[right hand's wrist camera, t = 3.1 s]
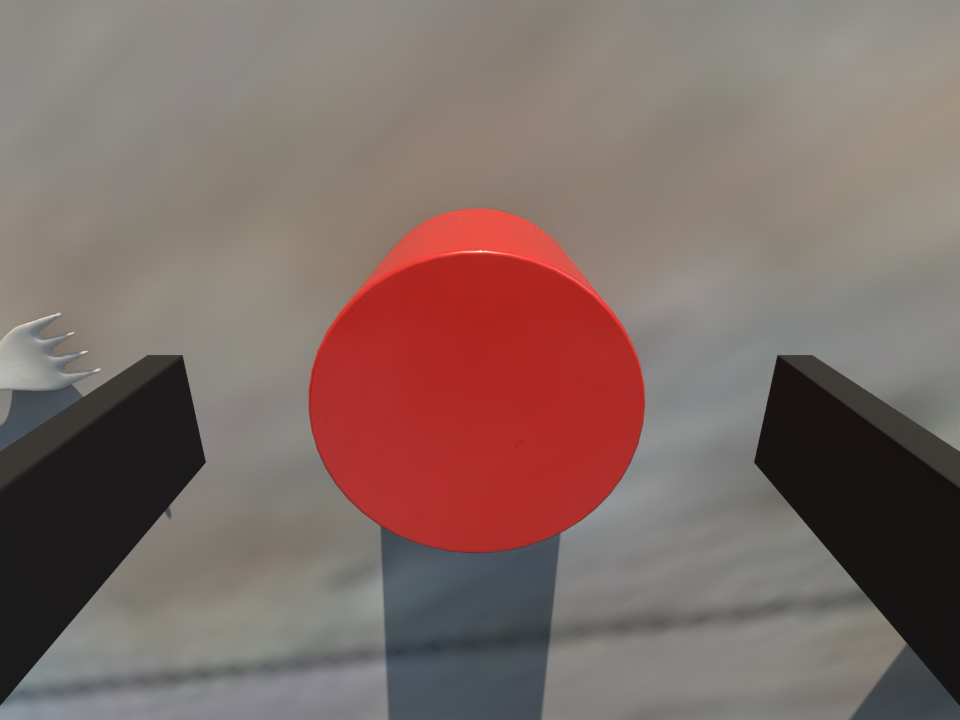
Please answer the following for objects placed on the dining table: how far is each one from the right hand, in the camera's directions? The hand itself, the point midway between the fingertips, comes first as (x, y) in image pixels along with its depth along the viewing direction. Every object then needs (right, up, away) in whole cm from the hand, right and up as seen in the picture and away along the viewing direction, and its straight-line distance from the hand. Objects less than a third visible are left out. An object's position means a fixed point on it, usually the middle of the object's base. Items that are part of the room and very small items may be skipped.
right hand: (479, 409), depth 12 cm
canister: (0, +3, +8) cm, 8 cm away
